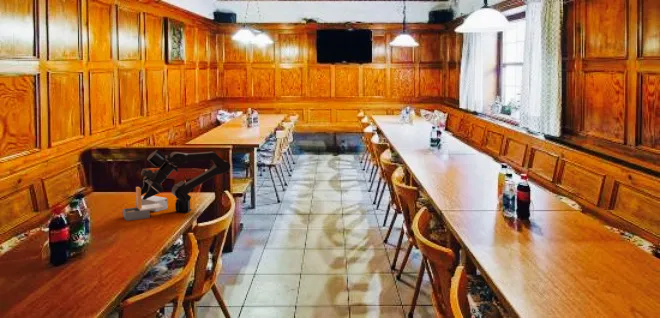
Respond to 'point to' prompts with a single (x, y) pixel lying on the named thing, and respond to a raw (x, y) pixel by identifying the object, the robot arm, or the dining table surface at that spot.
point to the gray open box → (135, 214)
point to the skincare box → (154, 202)
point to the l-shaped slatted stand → (145, 207)
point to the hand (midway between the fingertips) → (141, 197)
